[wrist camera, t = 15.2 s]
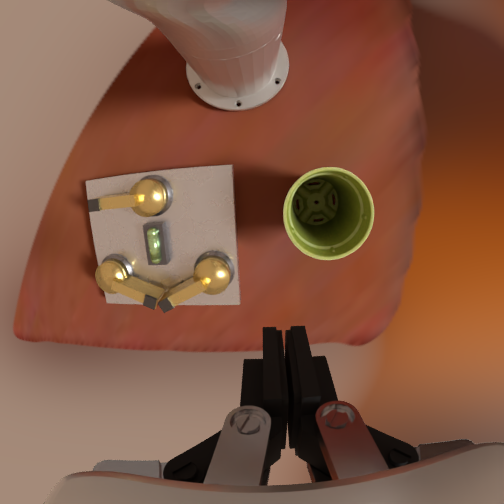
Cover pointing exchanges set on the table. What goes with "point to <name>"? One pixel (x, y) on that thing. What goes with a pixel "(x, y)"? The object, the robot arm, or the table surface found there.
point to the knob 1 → (126, 283)
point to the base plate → (171, 230)
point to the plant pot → (328, 213)
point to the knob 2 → (199, 282)
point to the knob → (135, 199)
